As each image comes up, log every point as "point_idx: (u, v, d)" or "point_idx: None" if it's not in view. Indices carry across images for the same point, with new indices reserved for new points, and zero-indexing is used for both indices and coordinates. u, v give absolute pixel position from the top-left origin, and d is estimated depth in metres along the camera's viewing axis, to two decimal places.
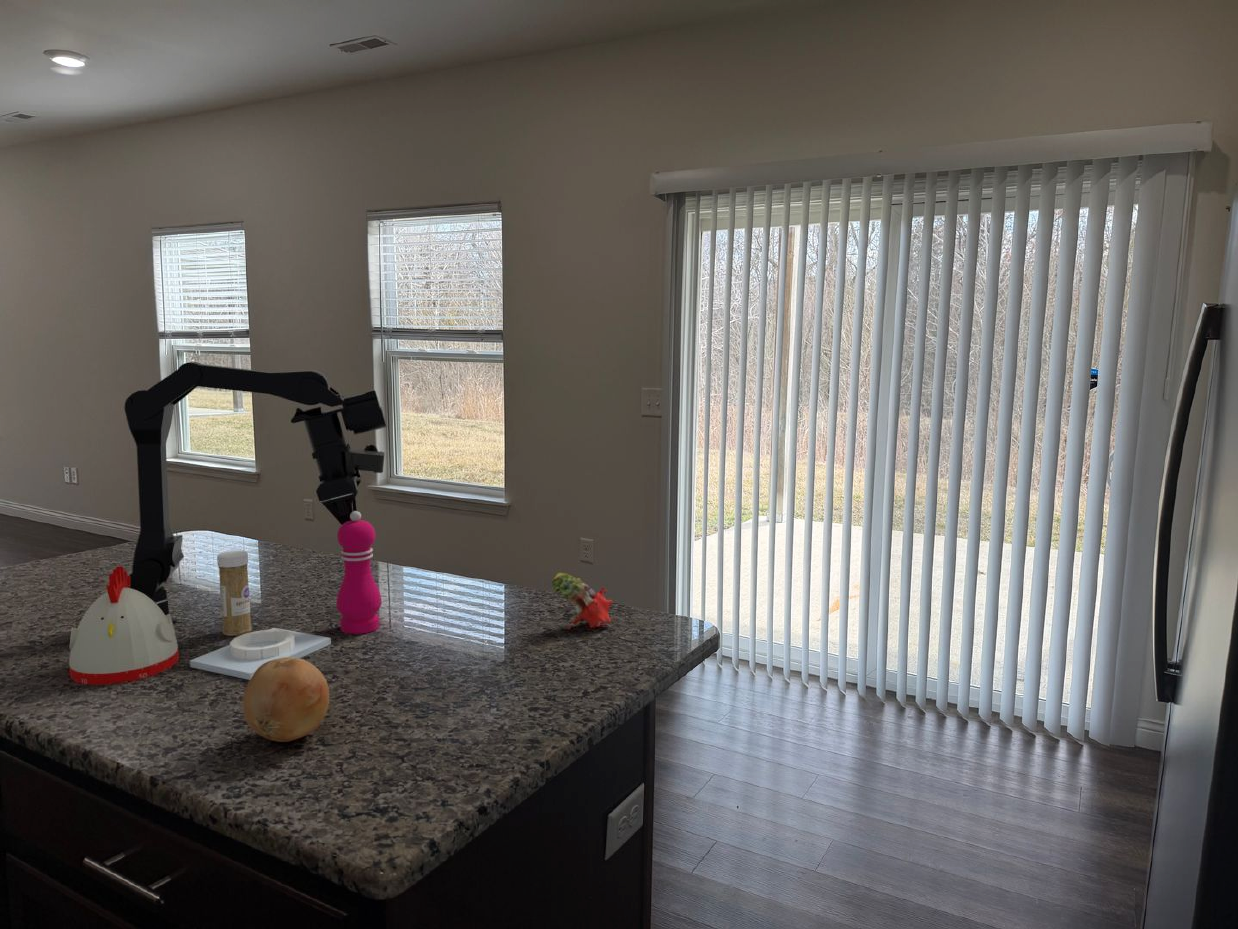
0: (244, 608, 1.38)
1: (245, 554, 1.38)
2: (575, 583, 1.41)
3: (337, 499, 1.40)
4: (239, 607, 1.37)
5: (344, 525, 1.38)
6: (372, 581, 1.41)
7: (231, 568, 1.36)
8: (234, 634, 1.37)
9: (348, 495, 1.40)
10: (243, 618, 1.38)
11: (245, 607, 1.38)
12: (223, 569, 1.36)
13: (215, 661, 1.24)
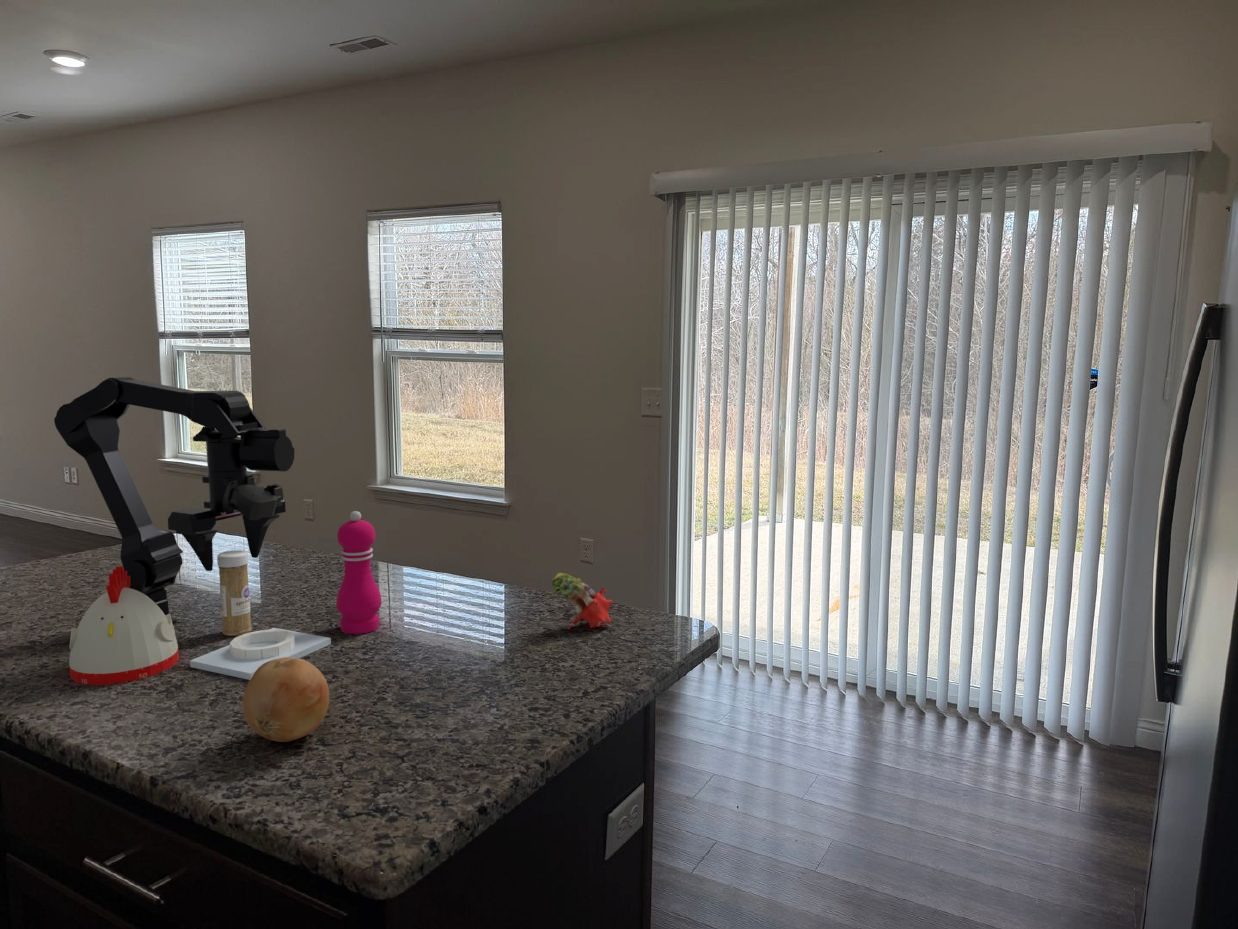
0: (244, 608, 1.38)
1: (245, 554, 1.38)
2: (575, 583, 1.41)
3: (186, 533, 1.30)
4: (239, 607, 1.37)
5: (344, 525, 1.38)
6: (372, 581, 1.41)
7: (231, 568, 1.36)
8: (234, 634, 1.37)
9: (195, 533, 1.29)
10: (243, 618, 1.38)
11: (245, 607, 1.38)
12: (223, 569, 1.36)
13: (215, 661, 1.24)
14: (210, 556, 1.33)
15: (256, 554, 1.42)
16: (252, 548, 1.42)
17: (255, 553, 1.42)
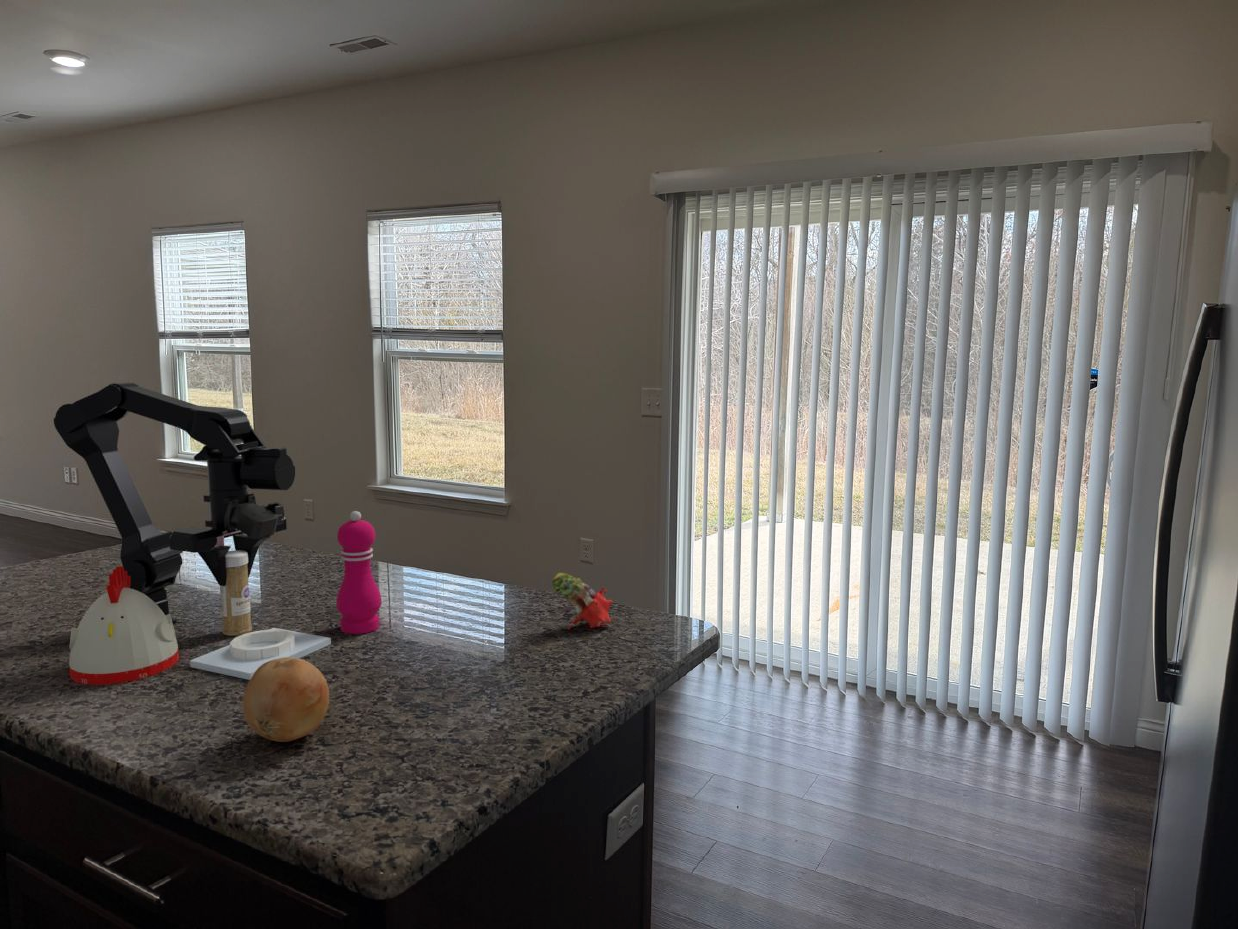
0: (244, 608, 1.38)
1: (245, 554, 1.38)
2: (575, 583, 1.41)
3: None
4: (239, 607, 1.37)
5: (344, 525, 1.38)
6: (372, 581, 1.41)
7: (231, 568, 1.36)
8: (234, 634, 1.37)
9: None
10: (243, 618, 1.38)
11: (245, 606, 1.38)
12: None
13: (215, 661, 1.24)
14: (224, 571, 1.35)
15: None
16: None
17: None
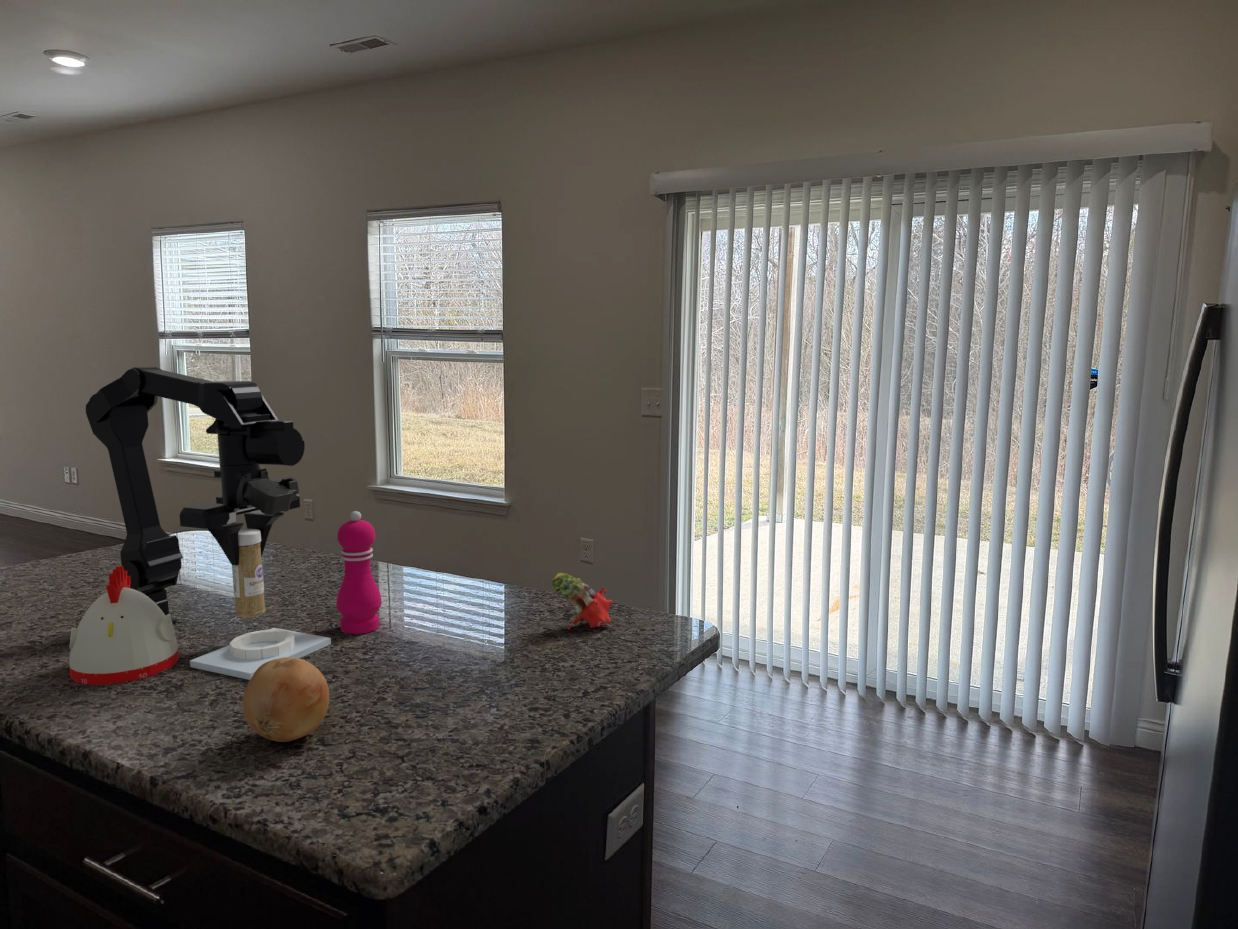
0: (258, 588, 1.32)
1: (258, 532, 1.32)
2: (575, 583, 1.41)
3: None
4: (253, 587, 1.32)
5: (344, 525, 1.38)
6: (372, 581, 1.41)
7: (244, 547, 1.30)
8: (248, 615, 1.32)
9: (221, 526, 1.26)
10: (257, 599, 1.32)
11: (259, 587, 1.32)
12: None
13: (215, 661, 1.24)
14: (236, 550, 1.29)
15: None
16: None
17: None
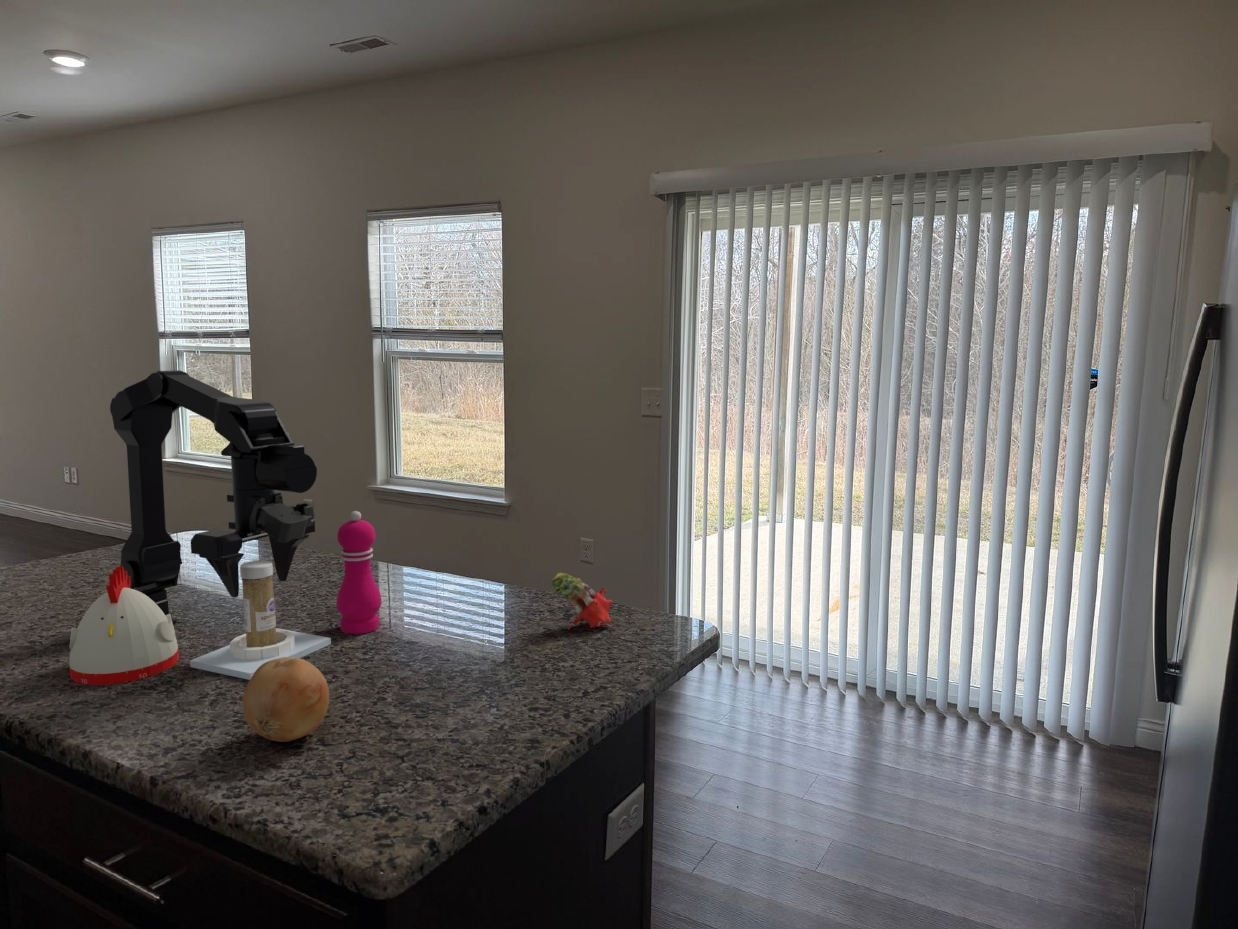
0: (270, 622, 1.28)
1: (270, 564, 1.27)
2: (575, 583, 1.41)
3: (210, 557, 1.20)
4: (265, 621, 1.27)
5: (344, 525, 1.38)
6: (372, 581, 1.41)
7: (256, 580, 1.26)
8: None
9: (220, 557, 1.19)
10: (269, 634, 1.28)
11: (270, 621, 1.28)
12: (246, 581, 1.26)
13: (215, 661, 1.24)
14: (236, 581, 1.23)
15: (284, 577, 1.32)
16: (280, 571, 1.32)
17: (283, 576, 1.32)
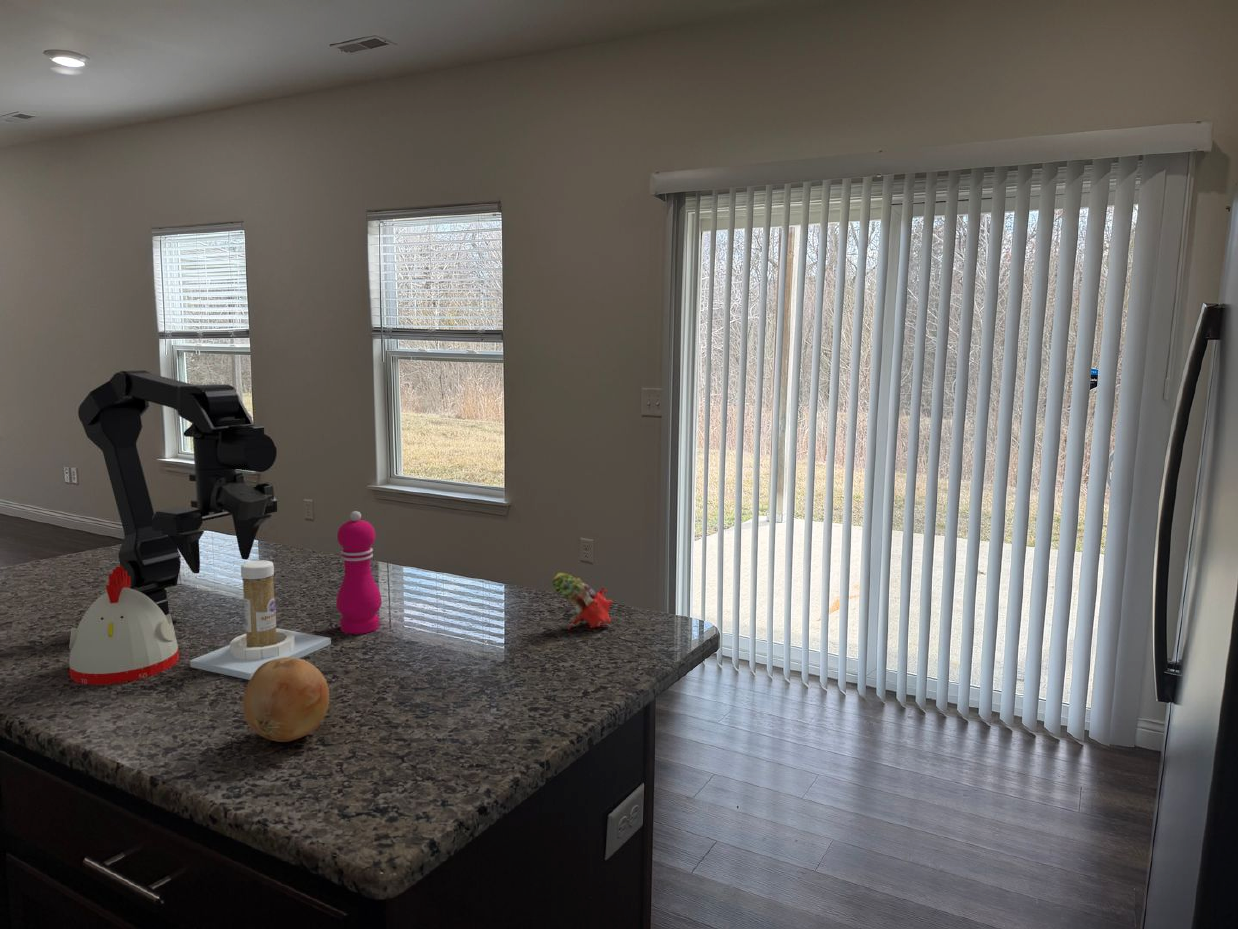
0: (270, 622, 1.28)
1: (271, 565, 1.27)
2: (575, 583, 1.41)
3: (171, 533, 1.24)
4: (265, 621, 1.27)
5: (344, 525, 1.38)
6: (372, 581, 1.41)
7: (256, 580, 1.26)
8: None
9: (180, 533, 1.23)
10: (269, 634, 1.28)
11: (271, 621, 1.28)
12: (247, 581, 1.26)
13: (215, 661, 1.24)
14: (197, 558, 1.27)
15: (246, 556, 1.36)
16: (242, 550, 1.36)
17: (245, 554, 1.36)
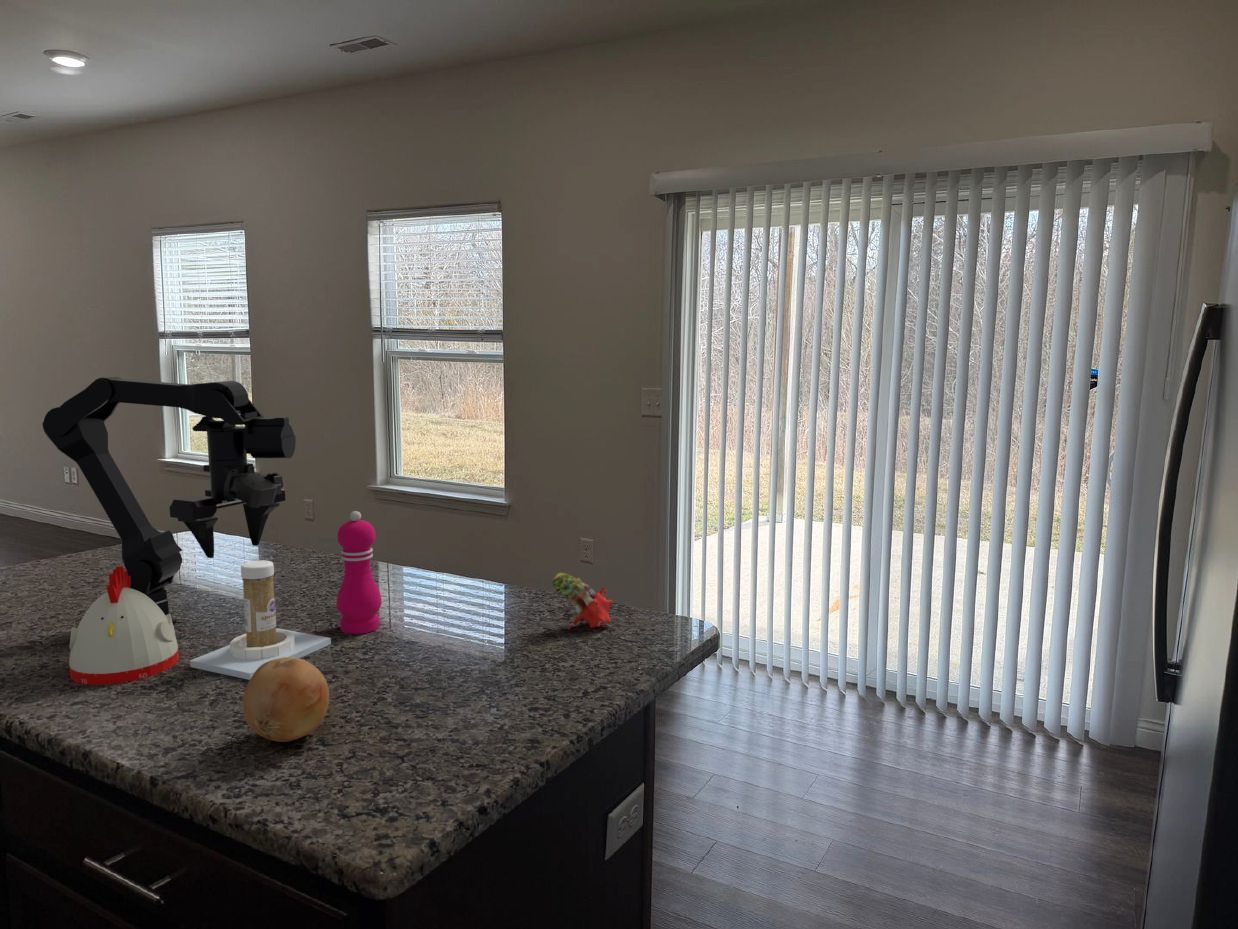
0: (270, 622, 1.28)
1: (271, 564, 1.27)
2: (575, 583, 1.41)
3: (187, 520, 1.32)
4: (265, 621, 1.27)
5: (344, 525, 1.38)
6: (372, 581, 1.41)
7: (256, 580, 1.26)
8: None
9: (196, 520, 1.32)
10: (269, 634, 1.28)
11: (271, 621, 1.28)
12: (247, 581, 1.26)
13: (215, 661, 1.24)
14: (211, 543, 1.35)
15: (257, 542, 1.44)
16: (253, 536, 1.44)
17: (256, 541, 1.44)
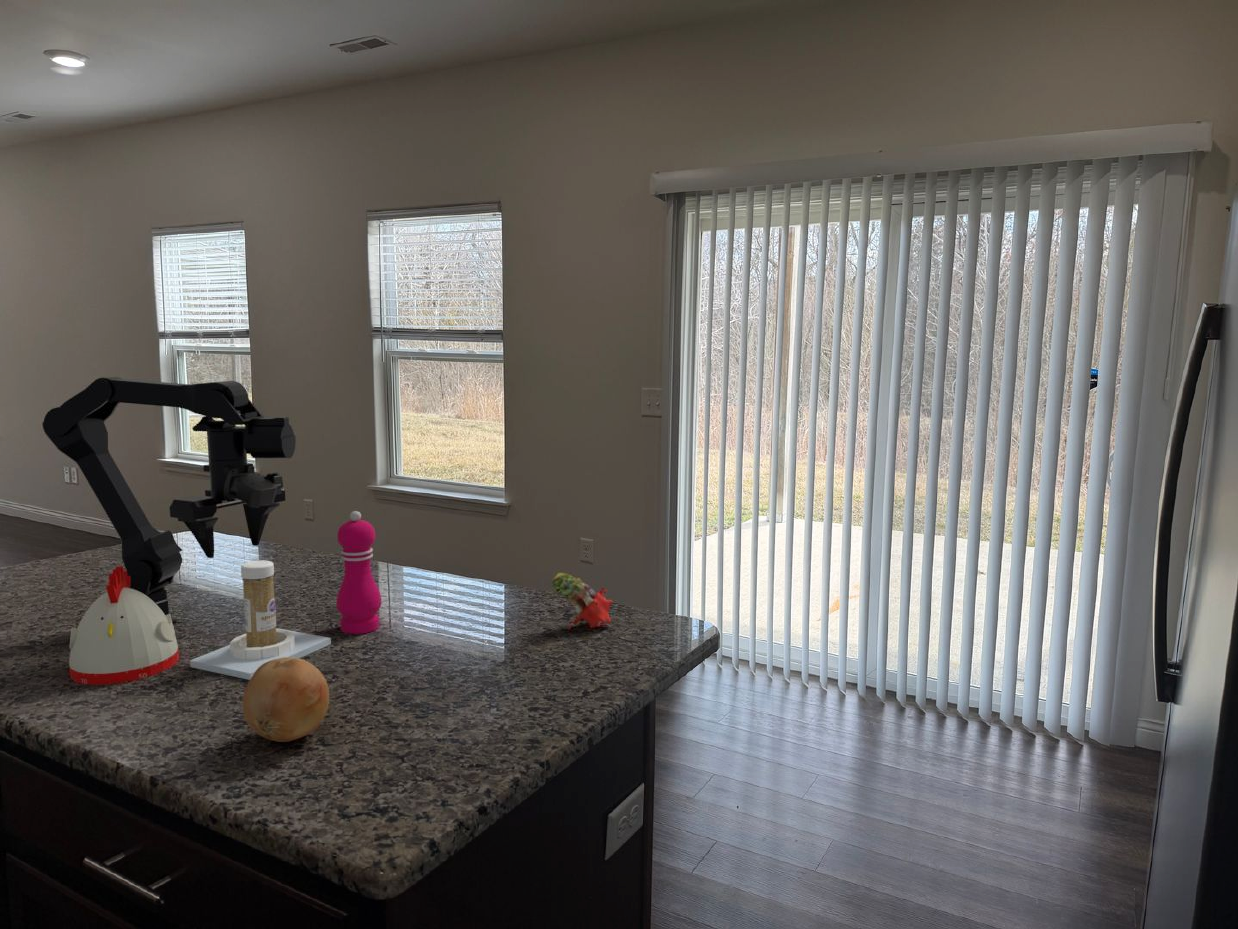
0: (270, 623, 1.28)
1: (271, 565, 1.27)
2: (575, 583, 1.41)
3: (187, 520, 1.32)
4: (265, 621, 1.27)
5: (344, 525, 1.38)
6: (372, 581, 1.41)
7: (256, 580, 1.26)
8: None
9: (196, 520, 1.32)
10: (269, 634, 1.28)
11: (271, 621, 1.28)
12: (247, 581, 1.26)
13: (215, 661, 1.24)
14: (211, 543, 1.35)
15: (257, 542, 1.44)
16: (253, 536, 1.44)
17: (256, 541, 1.44)
